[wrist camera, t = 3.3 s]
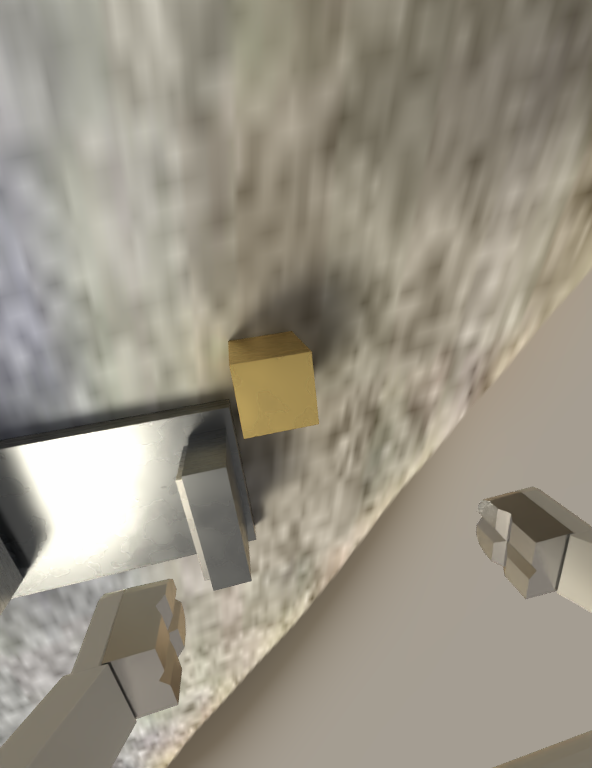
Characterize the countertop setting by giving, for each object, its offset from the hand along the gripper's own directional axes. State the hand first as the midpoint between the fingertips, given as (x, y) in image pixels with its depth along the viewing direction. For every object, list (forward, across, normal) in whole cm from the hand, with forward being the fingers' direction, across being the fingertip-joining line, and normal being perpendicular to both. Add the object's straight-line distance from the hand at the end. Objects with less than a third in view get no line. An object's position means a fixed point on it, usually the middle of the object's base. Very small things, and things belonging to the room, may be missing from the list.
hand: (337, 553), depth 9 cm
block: (+17, 0, 0) cm, 17 cm away
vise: (+17, +16, +8) cm, 24 cm away
